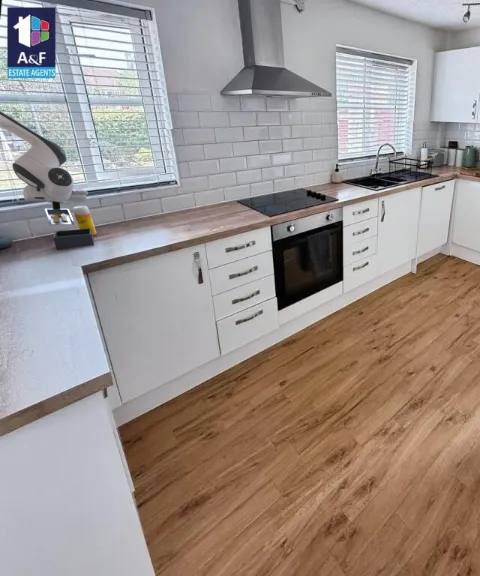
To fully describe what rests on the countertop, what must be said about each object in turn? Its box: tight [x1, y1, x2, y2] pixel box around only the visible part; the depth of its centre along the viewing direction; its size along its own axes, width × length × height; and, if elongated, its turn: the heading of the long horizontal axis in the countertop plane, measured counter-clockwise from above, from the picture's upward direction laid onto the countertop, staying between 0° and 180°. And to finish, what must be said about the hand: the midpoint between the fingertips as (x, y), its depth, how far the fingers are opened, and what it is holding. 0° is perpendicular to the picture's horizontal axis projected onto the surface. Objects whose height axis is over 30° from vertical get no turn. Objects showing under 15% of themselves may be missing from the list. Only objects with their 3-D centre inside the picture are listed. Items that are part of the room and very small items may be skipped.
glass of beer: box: [72, 205, 97, 236], centre depth 183 cm, size 6×6×15 cm
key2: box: [60, 214, 68, 222], centre depth 161 cm, size 6×2×1 cm, turn 44°
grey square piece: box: [44, 201, 75, 226], centre depth 159 cm, size 13×8×9 cm, turn 44°
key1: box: [51, 214, 59, 222], centre depth 159 cm, size 6×2×1 cm, turn 44°
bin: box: [52, 228, 95, 251], centre depth 169 cm, size 13×13×6 cm
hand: (55, 200), depth 162 cm, fingers closed on grey square piece, 2 cm apart
